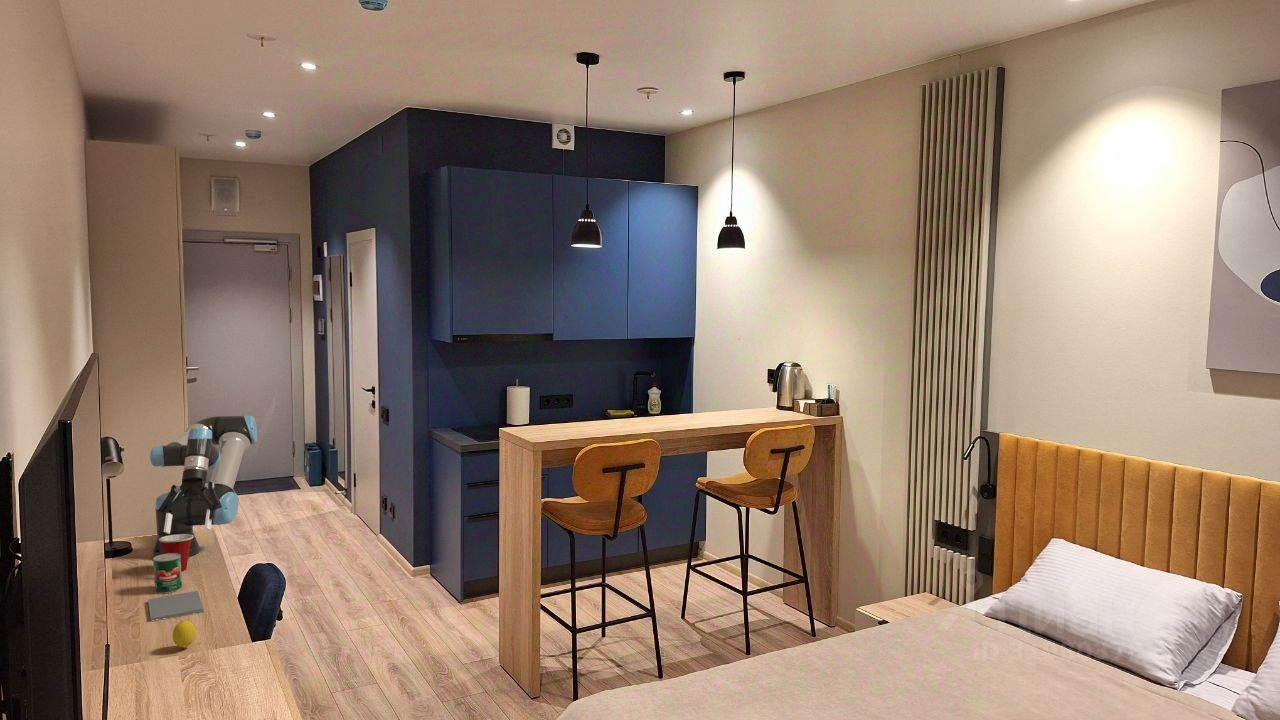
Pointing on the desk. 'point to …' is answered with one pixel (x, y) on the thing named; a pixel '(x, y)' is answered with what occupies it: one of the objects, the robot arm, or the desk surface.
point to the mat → (175, 605)
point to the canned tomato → (167, 573)
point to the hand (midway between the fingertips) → (187, 530)
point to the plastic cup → (177, 546)
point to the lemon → (184, 634)
